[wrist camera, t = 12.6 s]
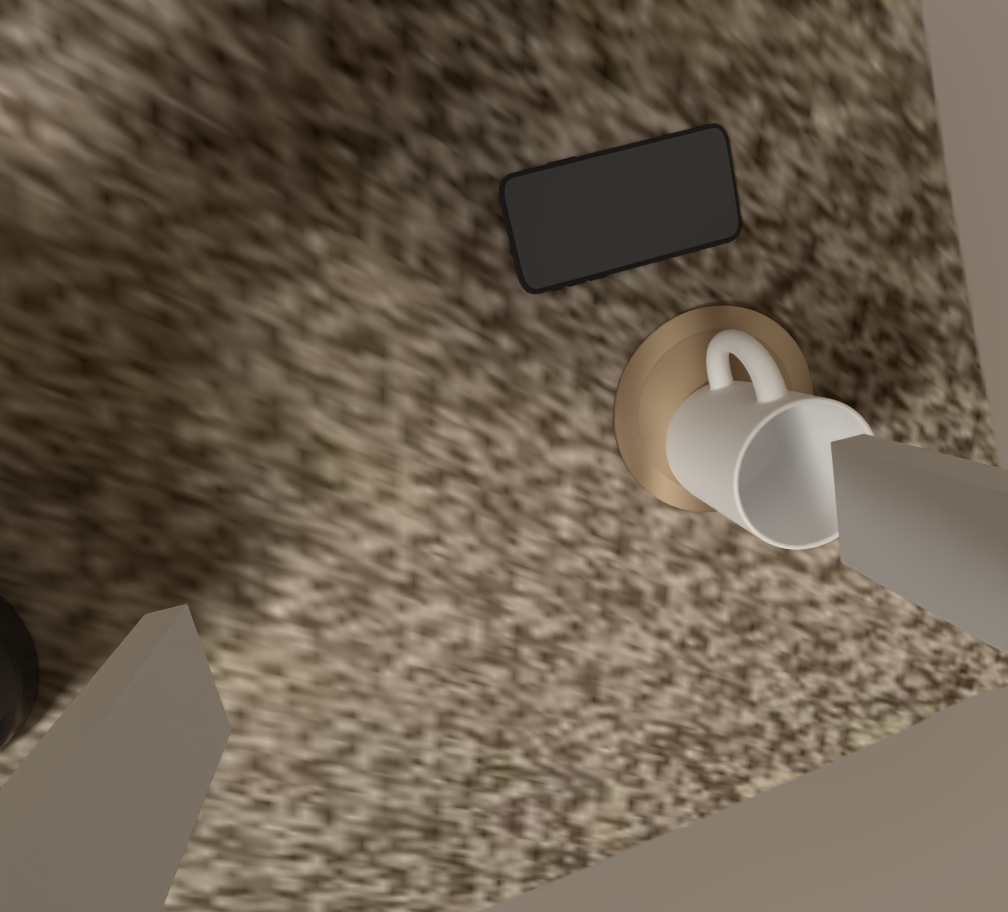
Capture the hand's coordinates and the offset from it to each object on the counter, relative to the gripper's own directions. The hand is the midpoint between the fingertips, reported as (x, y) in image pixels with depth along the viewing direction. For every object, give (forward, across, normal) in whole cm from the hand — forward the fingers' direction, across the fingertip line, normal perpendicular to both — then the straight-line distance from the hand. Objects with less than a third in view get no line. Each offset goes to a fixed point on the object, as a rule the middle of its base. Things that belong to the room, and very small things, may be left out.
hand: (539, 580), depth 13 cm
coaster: (+30, +18, -5) cm, 35 cm away
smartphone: (+30, +14, +9) cm, 35 cm away
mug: (+29, +18, -5) cm, 35 cm away
